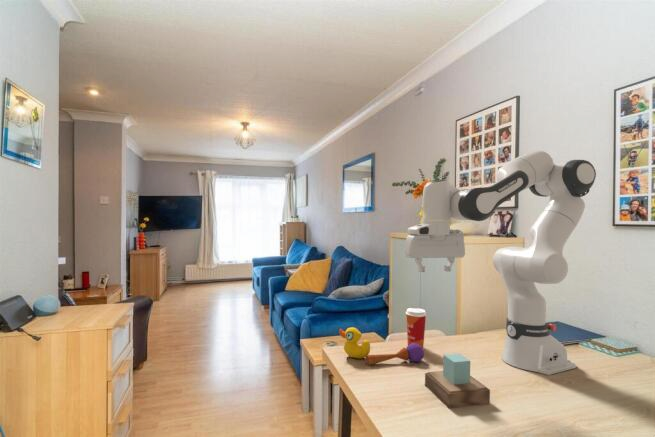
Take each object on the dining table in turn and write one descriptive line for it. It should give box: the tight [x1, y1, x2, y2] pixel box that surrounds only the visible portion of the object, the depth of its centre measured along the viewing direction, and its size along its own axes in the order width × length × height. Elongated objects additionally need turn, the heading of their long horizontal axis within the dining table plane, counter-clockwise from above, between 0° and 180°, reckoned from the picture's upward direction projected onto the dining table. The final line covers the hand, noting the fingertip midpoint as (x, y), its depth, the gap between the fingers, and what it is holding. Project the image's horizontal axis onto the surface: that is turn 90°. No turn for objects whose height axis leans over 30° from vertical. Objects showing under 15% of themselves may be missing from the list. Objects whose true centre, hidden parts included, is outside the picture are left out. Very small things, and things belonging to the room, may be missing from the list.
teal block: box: [442, 353, 471, 385], centre depth 92 cm, size 5×5×6 cm
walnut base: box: [424, 370, 491, 409], centre depth 92 cm, size 12×12×4 cm
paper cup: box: [405, 307, 427, 350], centre depth 126 cm, size 8×8×14 cm
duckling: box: [338, 326, 371, 359], centre depth 116 cm, size 11×5×10 cm, turn 64°
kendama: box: [365, 343, 425, 366], centre depth 112 cm, size 6×6×20 cm
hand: (434, 271), depth 110 cm, fingers open, 8 cm apart
